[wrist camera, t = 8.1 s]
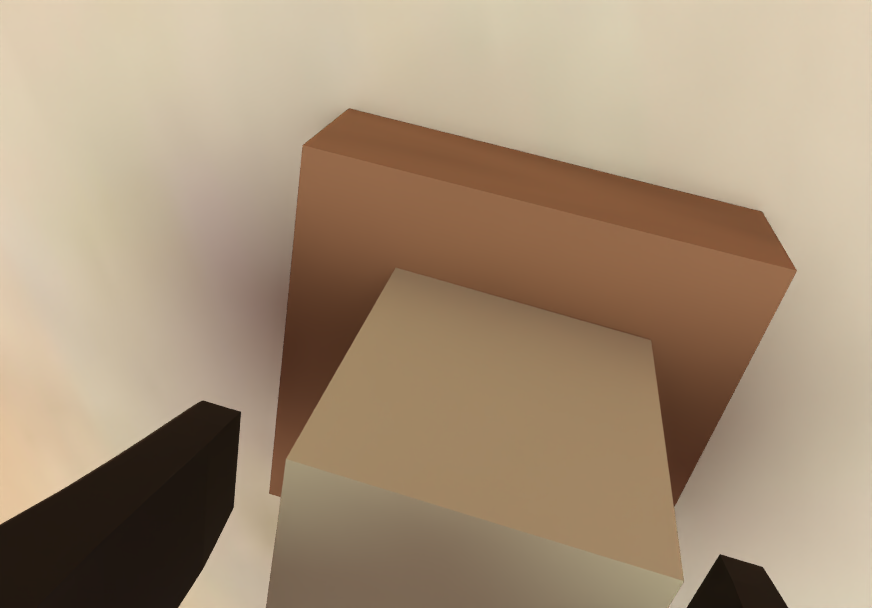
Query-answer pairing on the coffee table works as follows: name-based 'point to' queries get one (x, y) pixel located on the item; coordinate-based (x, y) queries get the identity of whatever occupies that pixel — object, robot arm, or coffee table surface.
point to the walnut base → (524, 262)
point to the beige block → (479, 464)
